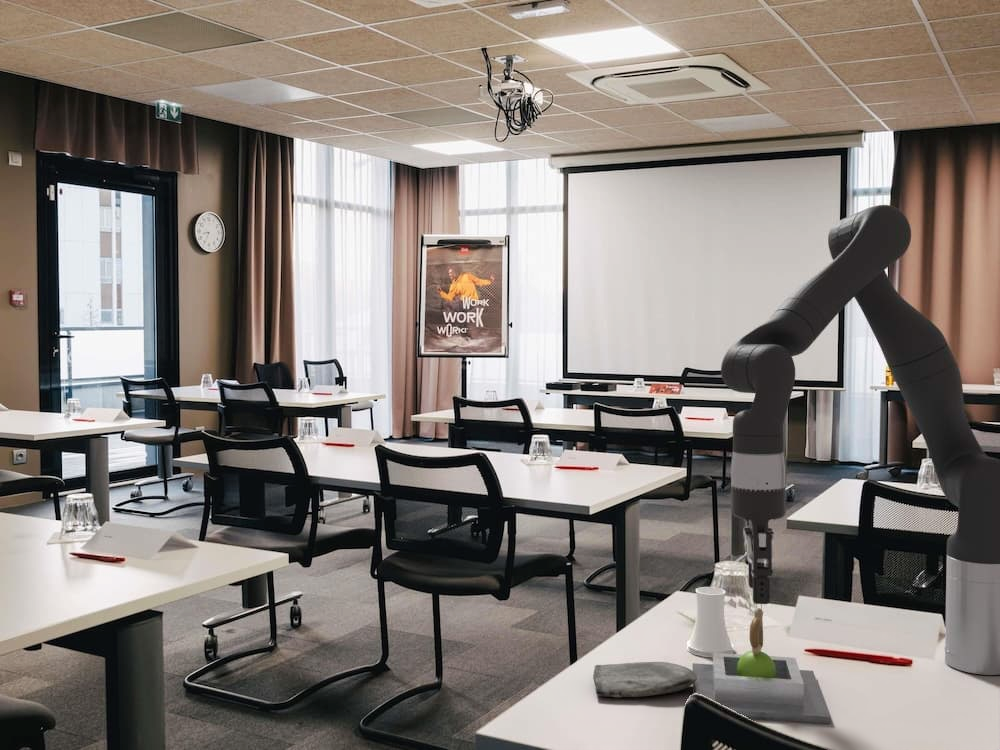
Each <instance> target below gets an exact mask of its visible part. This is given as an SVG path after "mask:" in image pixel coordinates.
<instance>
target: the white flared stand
mask: <svg viewBox="0 0 1000 750" xmlns="http://www.w3.org/2000/svg"><path fill="white" fill-rule="evenodd" d="M695 597H696V616H695V623H694V627H693V631H692V634H691V636H690V639H689V640H687V641H686V645H687V647H686V650H687V651H688V652H689V653H691V654H693V655H696V656H699V657H705V658H713V653H725V654H734V644H733V643H732V642H731V639H730V636H729V634H728V630H727V626H726V620H725V599H726V598H725V597H726V590H724V589H723V588H720V587H714V586H702V587H697V588H695Z"/></svg>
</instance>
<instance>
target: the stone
mask: <svg viewBox="0 0 1000 750" xmlns="http://www.w3.org/2000/svg"><path fill="white" fill-rule="evenodd" d="M592 679H593V682H594V686H595V687H594V688H595V692H596V695H598V697H601V698H604V697H605V698H609V697H611V698H615V699H619V698H628V697H629V698H640V697H647V696H648V697H649V696H657V695H663V694H671V693H675V692H678V691H682V690H684V689H686V688H688V687H690V686H693V684H694V683H695V681H696V679H697V676H696V674H695V673H694V672H693V669H690V668H688V667H686V666H683V665H680V664H676V663H672V662H667V661H644V662H643V661H638V662H625V663H612V664H611V663H610V664H596V665H595V666H594V669H593V678H592Z"/></svg>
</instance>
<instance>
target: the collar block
mask: <svg viewBox="0 0 1000 750" xmlns="http://www.w3.org/2000/svg"><path fill="white" fill-rule="evenodd" d="M742 655H743V654H739V653H733V654H725V653H713V657H712V664H710V663H697V662H696V663H695V662H692V671H693V672H694V673H695V674H696V676H697V679H696V681H695V683H694V684H692V694H693V693H698V694H702V695H704V696H706V697H708V698H710V699H712V700H714V701H716V702H718V703H720V704H721V705H724V706H726V707H728V708H730V709H732V710H734V711H736V712H737V713H739V714H742V715H744V716H746V717H748V718H747V719H750V718H751V719H753V720H764V721H765V720H766V721H777V722H778V721H780V722H792V723H793V722H794V723H804V724H805V723H806V724H821V725H831V715H830V713H829V710H828V707H827V705H826V702H825V699H824V697H823V695H822V691H821V689H820V686H819V683H818V681H817V678H816V676H815V672H814V670H808V669H807V670H805V669H800V668H799V665H798V662H797V659H796V657H789V656H787V657H786V656H772V655H771V656H770V655H769V656H770V658H771V659H772V660H773V662H774V664H775V667H776V676H775V678H761V677H745V676H738V672H737V665H738V661H739V659H740V658H741V657H742ZM751 719H750V720H751Z"/></svg>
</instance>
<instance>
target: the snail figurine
mask: <svg viewBox="0 0 1000 750" xmlns="http://www.w3.org/2000/svg"><path fill="white" fill-rule="evenodd" d="M755 605H756V607H755V609H754V613H753V615H754V618H753V619H751V623H750V625H749V642H750V643H749V644H750V646H751V650H750V651H747V652H744V654H742V657H741V658H740V659H739V661H738V665H737V672H738V676H745V677H761V678H775V676H776V667H775V664H774V662H773V660H772V659H771V658H770V655H768V654H767V653H766V652H764V651H762V648H763V646H764V623H763V622H764V621H763V616H764V611H763V610H762V609H763V608H762V605H763V604H760V607H758V604H756V603H755Z"/></svg>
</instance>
